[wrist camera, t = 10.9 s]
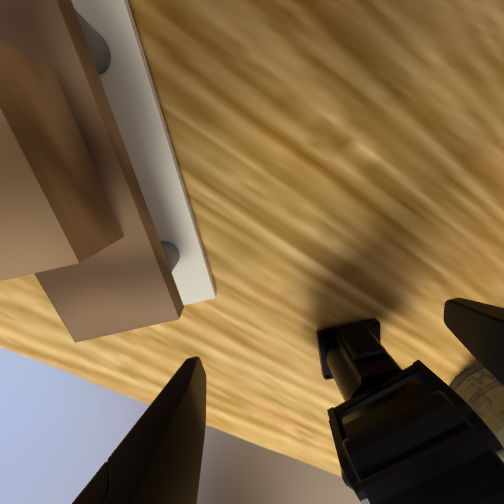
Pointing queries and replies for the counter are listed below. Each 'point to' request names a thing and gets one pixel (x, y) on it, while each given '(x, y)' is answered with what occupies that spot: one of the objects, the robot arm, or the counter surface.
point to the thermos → (483, 397)
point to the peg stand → (146, 140)
